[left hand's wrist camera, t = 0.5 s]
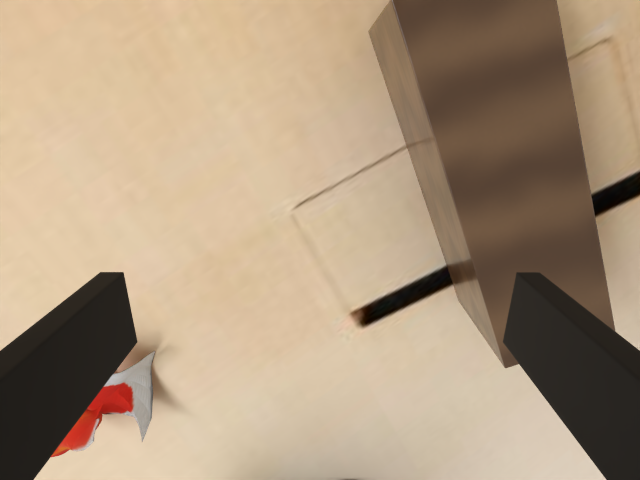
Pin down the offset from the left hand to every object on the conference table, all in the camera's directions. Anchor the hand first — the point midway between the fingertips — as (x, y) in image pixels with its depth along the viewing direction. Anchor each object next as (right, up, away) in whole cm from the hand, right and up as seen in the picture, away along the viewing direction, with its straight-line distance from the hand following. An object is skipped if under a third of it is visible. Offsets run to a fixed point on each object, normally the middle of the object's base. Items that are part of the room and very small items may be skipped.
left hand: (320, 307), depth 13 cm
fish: (-24, -14, +32) cm, 43 cm away
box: (+14, +9, +23) cm, 29 cm away
